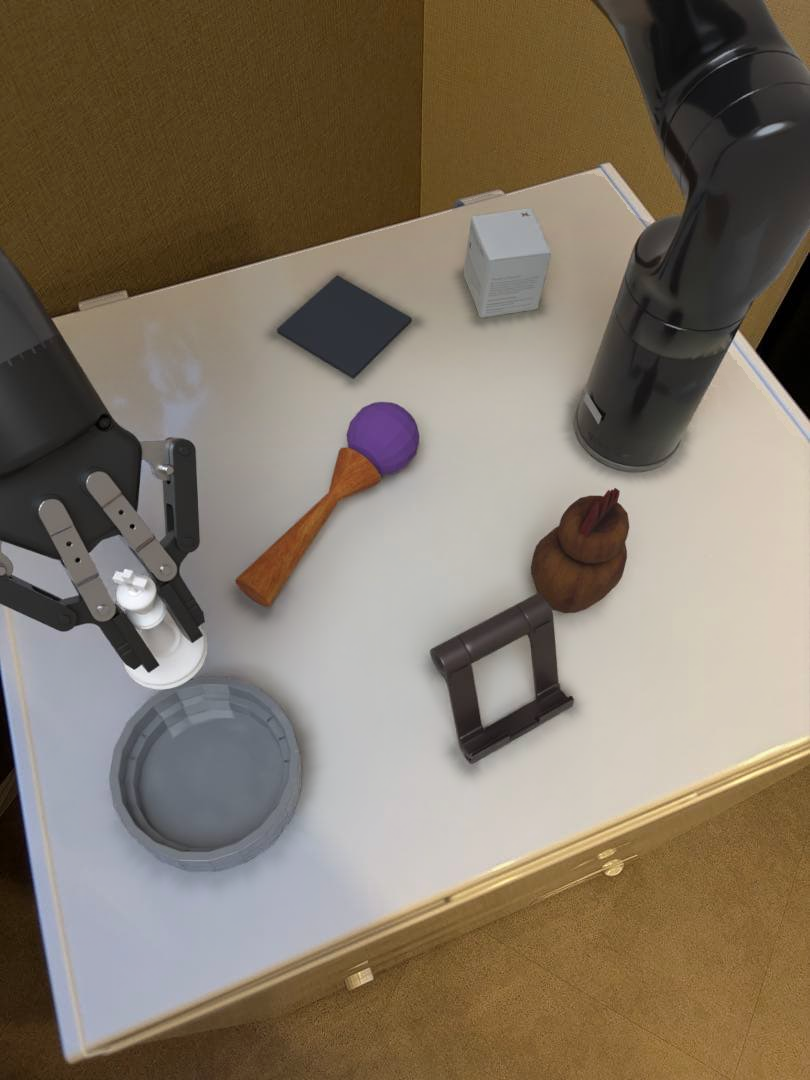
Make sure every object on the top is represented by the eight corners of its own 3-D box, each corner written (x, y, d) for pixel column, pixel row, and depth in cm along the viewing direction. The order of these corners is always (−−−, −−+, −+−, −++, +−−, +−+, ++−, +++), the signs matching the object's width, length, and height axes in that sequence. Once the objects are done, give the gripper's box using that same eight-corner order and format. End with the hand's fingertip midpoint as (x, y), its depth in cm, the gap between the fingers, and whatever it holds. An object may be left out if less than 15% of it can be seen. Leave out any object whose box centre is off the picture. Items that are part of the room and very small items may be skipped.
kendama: (210, 556, 66) (369, 377, 73) (235, 594, 71) (381, 423, 78) (270, 592, 64) (428, 403, 71) (291, 629, 69) (437, 449, 76)
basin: (208, 665, 66) (199, 644, 63) (337, 763, 63) (335, 746, 59) (86, 798, 61) (69, 782, 57) (219, 912, 58) (211, 903, 54)
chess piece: (188, 699, 51) (153, 631, 42) (108, 676, 52) (57, 603, 43) (220, 624, 53) (193, 544, 45) (143, 602, 54) (102, 519, 45)
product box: (461, 274, 88) (469, 214, 81) (520, 266, 89) (532, 205, 82) (478, 319, 85) (488, 260, 78) (539, 310, 86) (554, 251, 79)
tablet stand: (468, 769, 63) (483, 732, 56) (412, 677, 66) (419, 631, 59) (569, 710, 66) (595, 668, 58) (511, 625, 69) (529, 575, 62)
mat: (337, 278, 87) (337, 274, 86) (411, 321, 84) (412, 317, 84) (277, 332, 83) (276, 328, 82) (353, 379, 80) (353, 375, 80)
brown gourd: (550, 636, 69) (594, 538, 56) (511, 577, 71) (546, 470, 58) (622, 601, 70) (681, 499, 57) (582, 544, 73) (630, 434, 60)
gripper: (-168, 441, 36) (69, 754, 43) (129, 290, 41) (302, 593, 47) (-157, 433, 43) (48, 706, 49) (98, 304, 47) (254, 568, 54)
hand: (172, 649), depth 48 cm, fingers closed on chess piece
